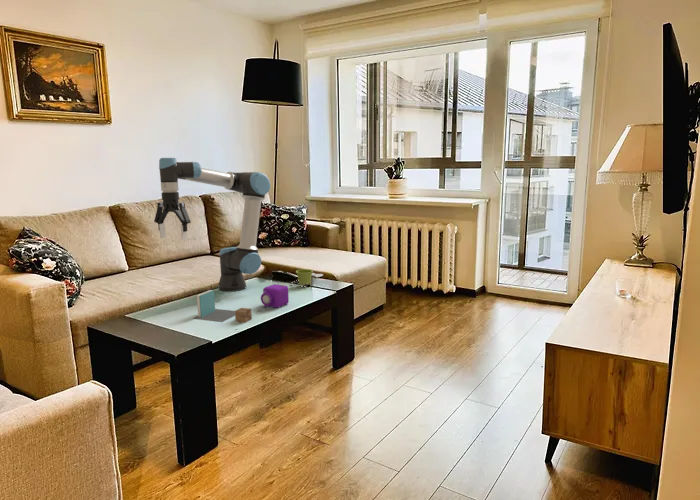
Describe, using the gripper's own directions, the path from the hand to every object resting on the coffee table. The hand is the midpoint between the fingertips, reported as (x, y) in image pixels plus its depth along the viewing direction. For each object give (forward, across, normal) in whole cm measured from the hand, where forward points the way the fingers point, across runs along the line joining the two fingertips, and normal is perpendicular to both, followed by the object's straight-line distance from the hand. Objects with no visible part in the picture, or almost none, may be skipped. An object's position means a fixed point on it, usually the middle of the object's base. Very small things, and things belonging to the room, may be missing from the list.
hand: (173, 238), depth 231 cm
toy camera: (+35, +42, +18) cm, 57 cm away
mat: (+34, +25, -4) cm, 43 cm away
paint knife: (+35, +32, +72) cm, 86 cm away
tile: (+34, +19, -4) cm, 39 cm away
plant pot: (+34, +39, +58) cm, 78 cm away
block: (+34, +40, -6) cm, 53 cm away
